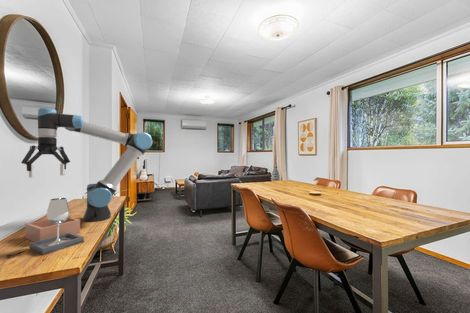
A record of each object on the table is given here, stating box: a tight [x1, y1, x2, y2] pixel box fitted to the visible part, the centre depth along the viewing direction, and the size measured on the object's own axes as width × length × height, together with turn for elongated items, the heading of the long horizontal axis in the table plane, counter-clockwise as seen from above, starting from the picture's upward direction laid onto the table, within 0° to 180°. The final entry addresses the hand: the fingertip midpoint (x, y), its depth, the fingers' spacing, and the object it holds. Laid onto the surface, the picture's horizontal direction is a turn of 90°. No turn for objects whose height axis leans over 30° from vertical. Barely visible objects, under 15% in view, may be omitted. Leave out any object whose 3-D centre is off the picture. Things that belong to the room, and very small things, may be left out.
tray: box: [29, 232, 85, 256], centre depth 94 cm, size 15×13×2 cm
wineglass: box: [46, 197, 70, 246], centre depth 94 cm, size 8×8×20 cm
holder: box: [24, 216, 81, 242], centre depth 106 cm, size 16×16×7 cm
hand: (47, 176), depth 112 cm, fingers open, 13 cm apart
